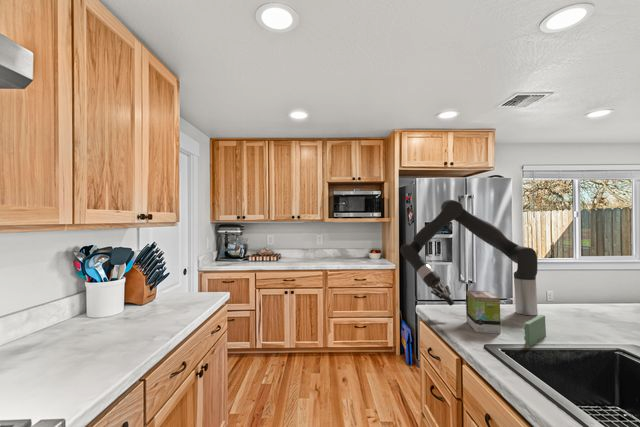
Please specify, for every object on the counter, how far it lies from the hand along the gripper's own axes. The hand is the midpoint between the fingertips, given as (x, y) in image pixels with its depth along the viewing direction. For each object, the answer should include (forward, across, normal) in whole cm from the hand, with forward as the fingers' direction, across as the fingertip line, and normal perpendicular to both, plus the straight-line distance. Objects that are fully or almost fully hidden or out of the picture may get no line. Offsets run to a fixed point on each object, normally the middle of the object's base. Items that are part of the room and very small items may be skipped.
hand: (452, 304), depth 144 cm
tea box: (+15, 0, -4) cm, 16 cm away
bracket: (+29, 0, -19) cm, 34 cm away
